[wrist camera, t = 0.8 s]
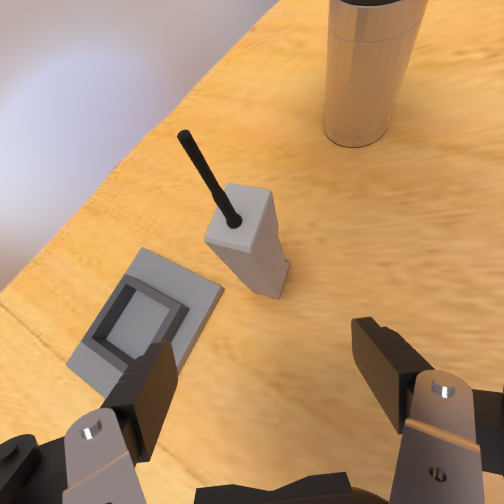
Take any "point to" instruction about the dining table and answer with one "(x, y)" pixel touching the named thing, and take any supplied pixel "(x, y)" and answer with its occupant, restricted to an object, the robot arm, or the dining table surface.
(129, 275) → the dock board
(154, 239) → the dining table surface
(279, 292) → the vintage mobile phone
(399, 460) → the robot arm
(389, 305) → the dining table surface
